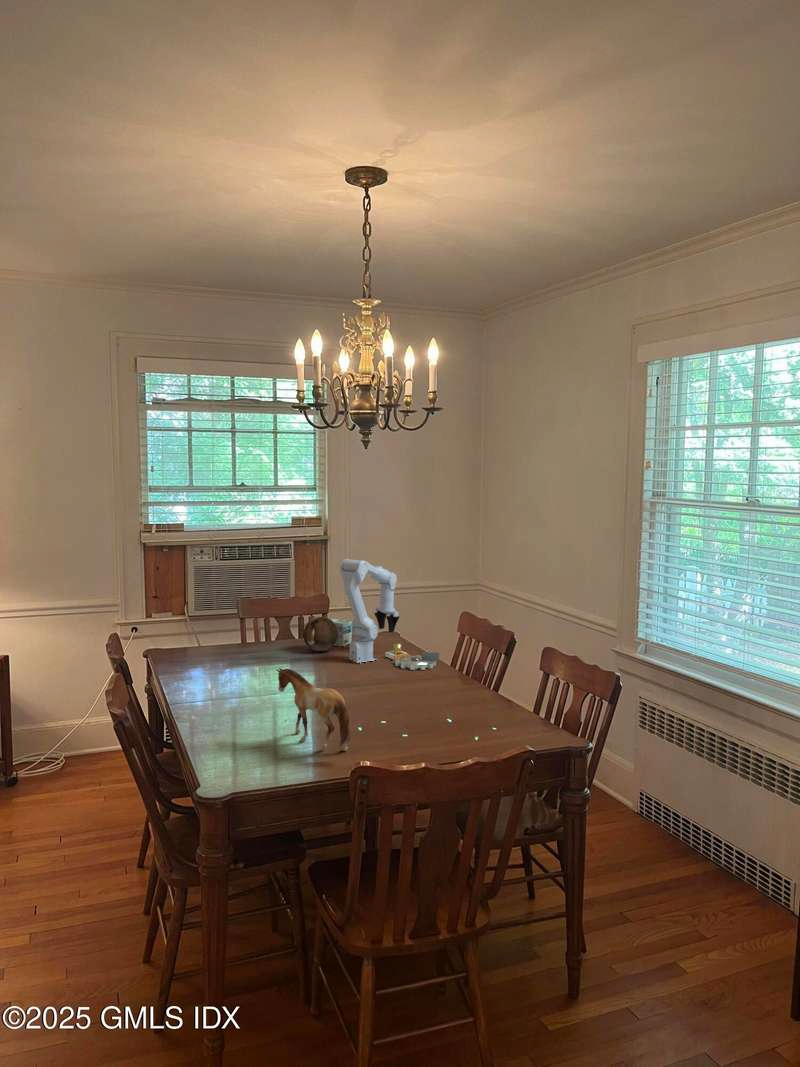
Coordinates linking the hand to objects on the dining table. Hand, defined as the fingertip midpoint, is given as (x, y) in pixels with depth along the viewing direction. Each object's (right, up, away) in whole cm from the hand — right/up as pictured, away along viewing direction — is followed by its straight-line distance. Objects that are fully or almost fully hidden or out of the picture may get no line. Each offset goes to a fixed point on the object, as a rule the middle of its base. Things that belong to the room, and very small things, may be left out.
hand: (386, 630), depth 328 cm
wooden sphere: (-29, -9, +2) cm, 30 cm away
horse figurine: (-20, -20, -110) cm, 114 cm away
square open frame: (+5, -11, -8) cm, 14 cm away
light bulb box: (-22, -8, +15) cm, 28 cm away
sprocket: (+12, -12, -18) cm, 25 cm away
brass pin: (+5, -11, -8) cm, 14 cm away
